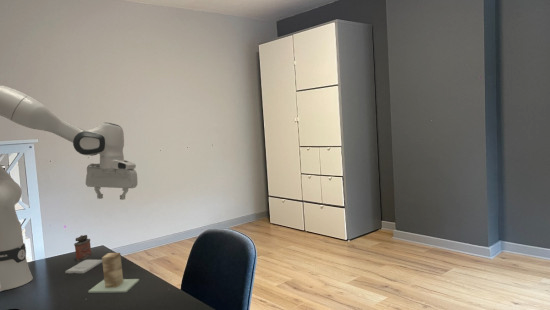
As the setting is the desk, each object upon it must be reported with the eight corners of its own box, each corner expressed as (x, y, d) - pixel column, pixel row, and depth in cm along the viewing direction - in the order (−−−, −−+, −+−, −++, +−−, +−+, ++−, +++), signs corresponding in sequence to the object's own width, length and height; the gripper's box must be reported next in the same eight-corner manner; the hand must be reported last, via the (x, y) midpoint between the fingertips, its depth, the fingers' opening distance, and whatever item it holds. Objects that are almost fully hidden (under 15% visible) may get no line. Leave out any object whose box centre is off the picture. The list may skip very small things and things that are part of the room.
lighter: (87, 254, 187) (85, 233, 186) (93, 254, 186) (91, 233, 185) (74, 260, 180) (71, 238, 179) (80, 261, 179) (77, 238, 178)
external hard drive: (102, 263, 176) (83, 274, 164) (85, 263, 178) (65, 274, 166) (102, 259, 176) (83, 270, 164) (84, 259, 178) (65, 270, 165)
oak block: (105, 287, 146) (101, 257, 145) (111, 282, 151) (108, 253, 150) (117, 287, 146) (113, 257, 145) (123, 282, 150) (120, 252, 149)
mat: (88, 292, 144) (88, 291, 144) (103, 281, 154) (103, 279, 154) (126, 292, 143) (126, 290, 142) (139, 280, 152) (139, 279, 152)
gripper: (82, 163, 162) (82, 198, 162) (132, 165, 160) (131, 200, 160) (91, 163, 168) (91, 197, 169) (139, 164, 166) (139, 198, 166)
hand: (111, 198), depth 164 cm, fingers open, 8 cm apart
